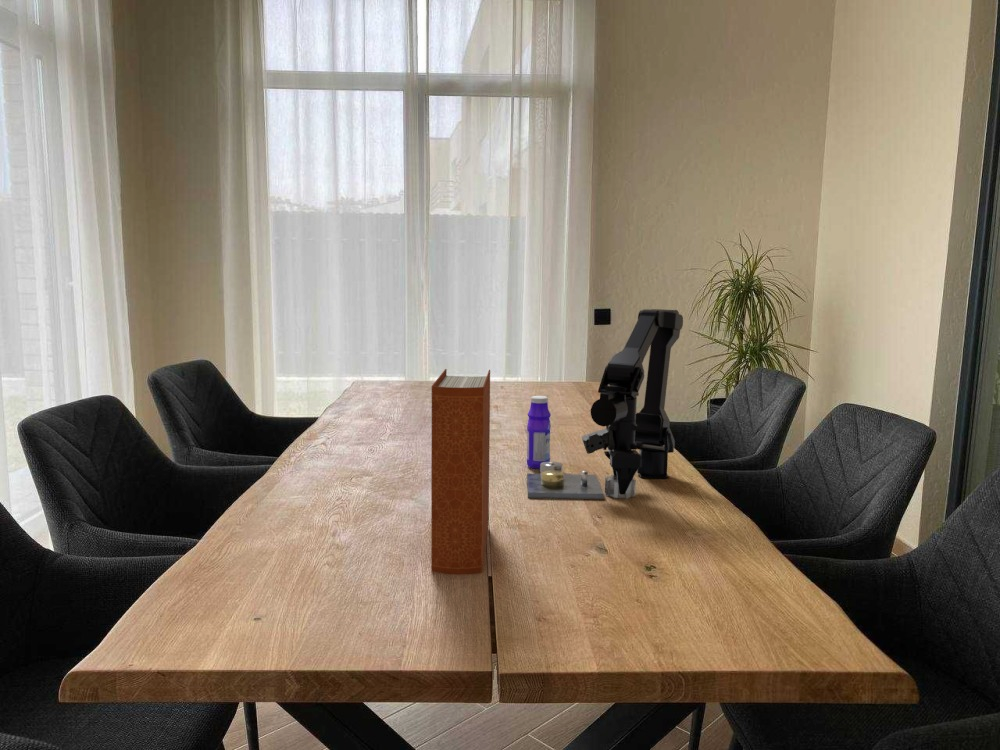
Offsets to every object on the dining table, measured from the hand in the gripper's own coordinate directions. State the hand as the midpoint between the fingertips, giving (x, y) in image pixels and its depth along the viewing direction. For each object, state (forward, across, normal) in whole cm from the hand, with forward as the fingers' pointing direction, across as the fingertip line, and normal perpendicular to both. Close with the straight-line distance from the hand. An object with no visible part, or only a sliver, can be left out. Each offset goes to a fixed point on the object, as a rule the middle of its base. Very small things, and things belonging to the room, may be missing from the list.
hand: (620, 489), depth 173 cm
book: (+1, +36, -32) cm, 48 cm away
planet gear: (+1, 0, 0) cm, 1 cm away
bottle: (+1, -24, -17) cm, 29 cm away
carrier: (+1, -4, -12) cm, 13 cm away
